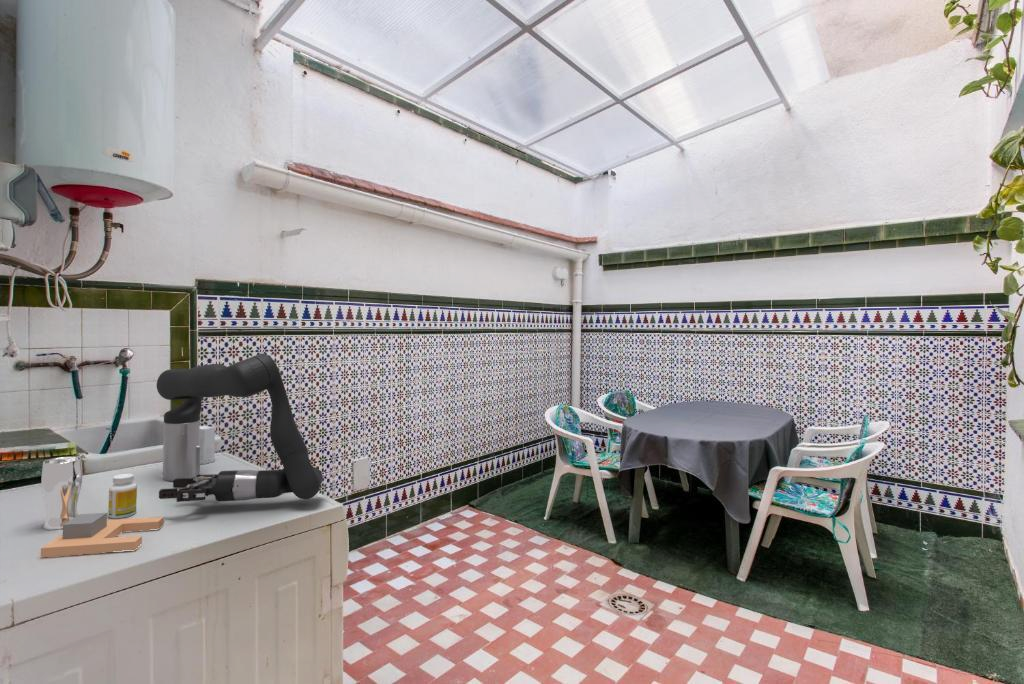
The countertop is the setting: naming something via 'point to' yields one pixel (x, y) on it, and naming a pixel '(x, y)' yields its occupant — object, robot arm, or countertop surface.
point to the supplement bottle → (122, 496)
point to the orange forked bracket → (98, 535)
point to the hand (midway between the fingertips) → (166, 488)
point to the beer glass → (61, 490)
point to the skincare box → (207, 444)
